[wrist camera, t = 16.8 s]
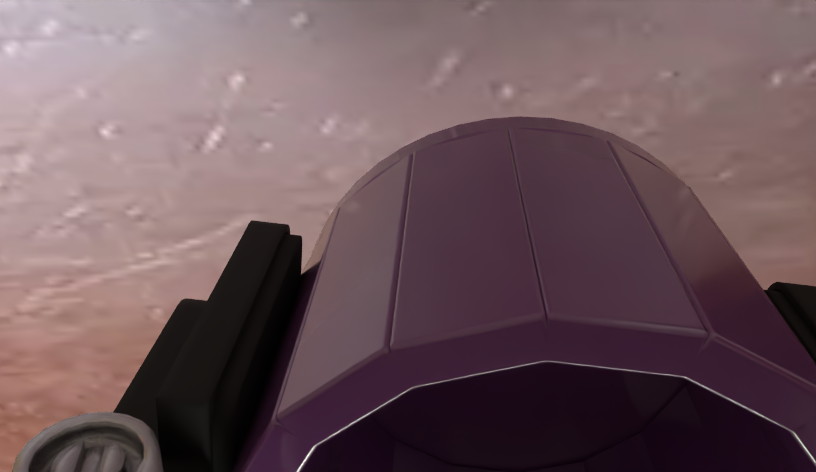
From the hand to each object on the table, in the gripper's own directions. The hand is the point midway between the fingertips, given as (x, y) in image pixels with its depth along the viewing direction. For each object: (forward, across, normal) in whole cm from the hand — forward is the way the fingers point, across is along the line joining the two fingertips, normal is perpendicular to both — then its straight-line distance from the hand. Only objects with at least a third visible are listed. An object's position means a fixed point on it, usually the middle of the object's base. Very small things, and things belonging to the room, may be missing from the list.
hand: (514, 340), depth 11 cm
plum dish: (+1, 0, 0) cm, 1 cm away
